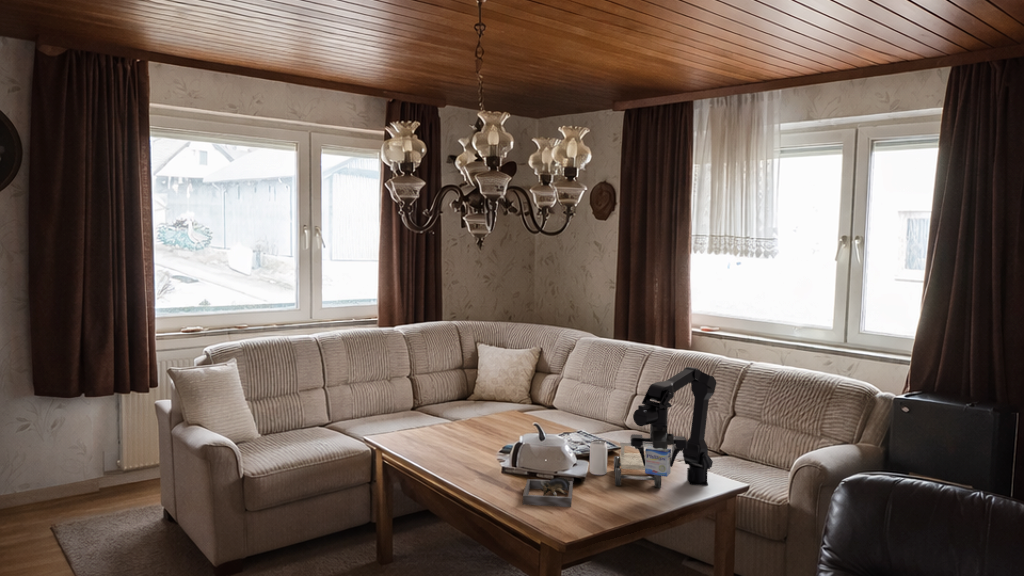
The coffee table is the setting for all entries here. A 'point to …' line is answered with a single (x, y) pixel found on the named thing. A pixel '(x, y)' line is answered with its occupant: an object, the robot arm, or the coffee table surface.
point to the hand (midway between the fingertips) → (657, 466)
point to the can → (598, 457)
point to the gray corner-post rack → (631, 465)
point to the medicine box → (657, 461)
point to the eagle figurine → (555, 486)
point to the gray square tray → (546, 499)
